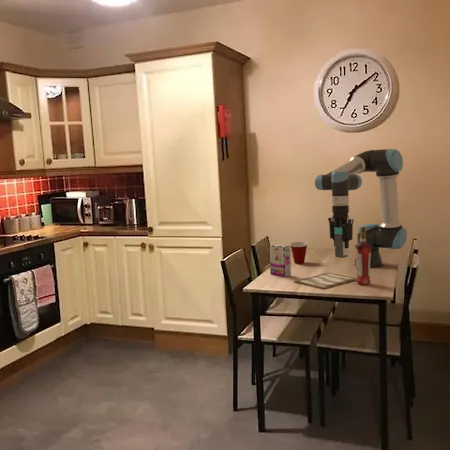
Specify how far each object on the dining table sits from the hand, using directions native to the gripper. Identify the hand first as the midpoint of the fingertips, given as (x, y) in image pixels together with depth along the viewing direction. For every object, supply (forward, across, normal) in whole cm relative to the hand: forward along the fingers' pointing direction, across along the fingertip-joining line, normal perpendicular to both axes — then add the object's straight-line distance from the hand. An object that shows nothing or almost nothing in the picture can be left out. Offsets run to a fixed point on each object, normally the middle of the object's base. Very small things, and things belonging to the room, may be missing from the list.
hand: (341, 254), depth 241 cm
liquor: (+17, +2, +14) cm, 22 cm away
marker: (+1, 0, 0) cm, 1 cm away
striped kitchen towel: (+17, -15, +6) cm, 23 cm away
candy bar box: (+17, -42, 0) cm, 46 cm away
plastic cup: (+17, -56, +28) cm, 65 cm away
